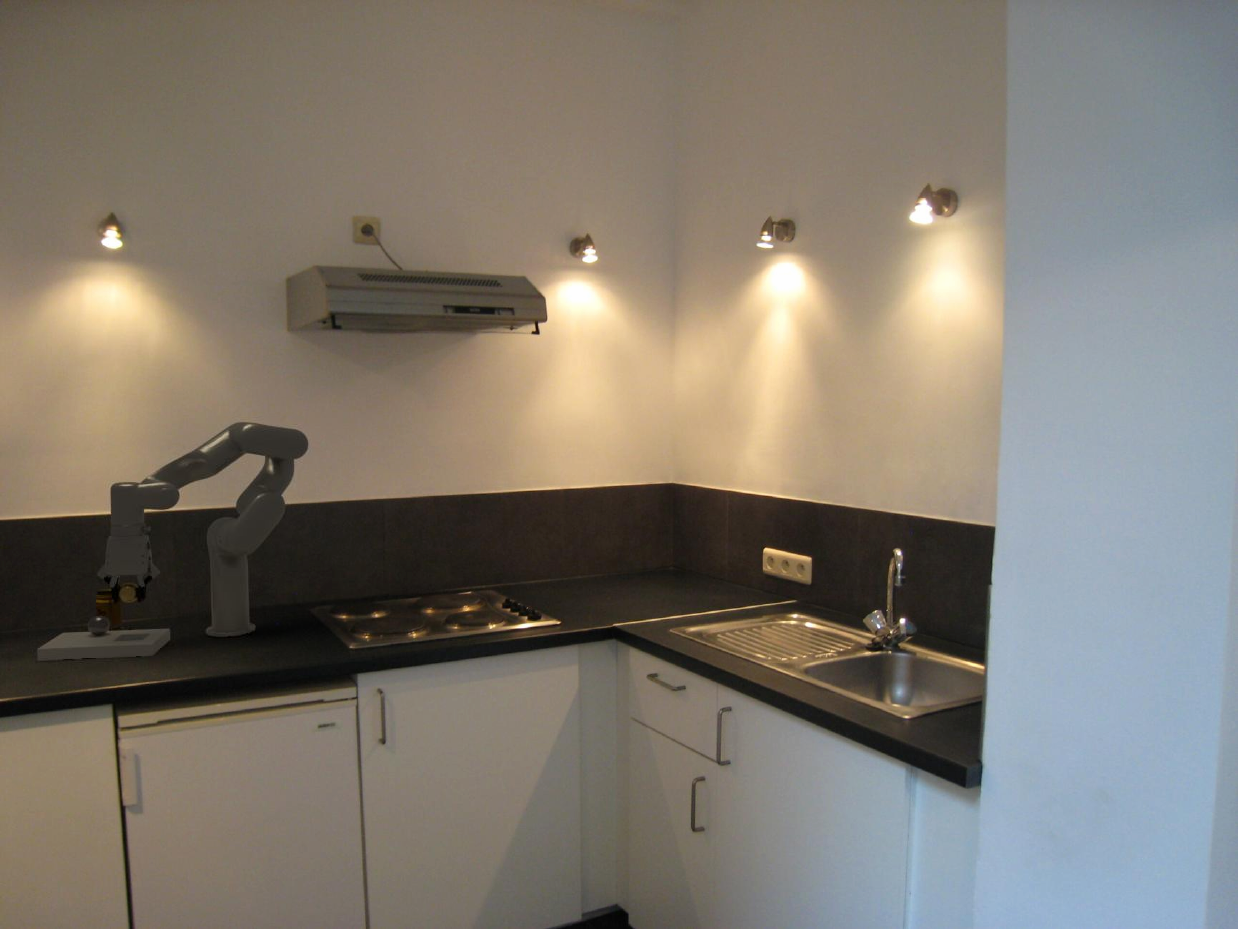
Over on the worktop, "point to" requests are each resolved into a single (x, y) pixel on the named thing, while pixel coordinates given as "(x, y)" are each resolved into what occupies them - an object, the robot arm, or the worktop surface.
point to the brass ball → (128, 592)
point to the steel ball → (98, 625)
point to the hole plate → (104, 644)
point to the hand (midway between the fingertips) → (129, 601)
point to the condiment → (109, 608)
